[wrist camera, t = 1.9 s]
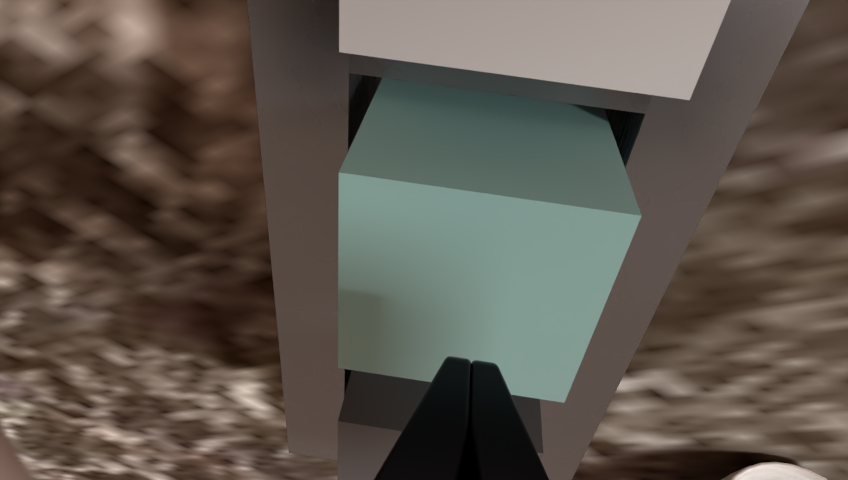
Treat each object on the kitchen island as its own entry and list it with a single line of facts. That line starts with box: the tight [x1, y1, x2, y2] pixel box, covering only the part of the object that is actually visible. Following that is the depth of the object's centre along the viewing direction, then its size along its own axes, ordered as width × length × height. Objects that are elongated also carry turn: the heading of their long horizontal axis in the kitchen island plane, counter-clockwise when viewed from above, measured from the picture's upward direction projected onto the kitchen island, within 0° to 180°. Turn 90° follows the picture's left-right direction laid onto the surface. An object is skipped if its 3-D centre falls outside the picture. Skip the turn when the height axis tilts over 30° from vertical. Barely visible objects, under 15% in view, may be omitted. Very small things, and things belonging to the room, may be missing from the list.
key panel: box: [247, 0, 810, 480], centre depth 12 cm, size 10×30×4 cm, turn 174°
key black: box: [338, 370, 543, 480], centre depth 17 cm, size 5×5×4 cm
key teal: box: [338, 78, 642, 403], centre depth 12 cm, size 5×5×4 cm
